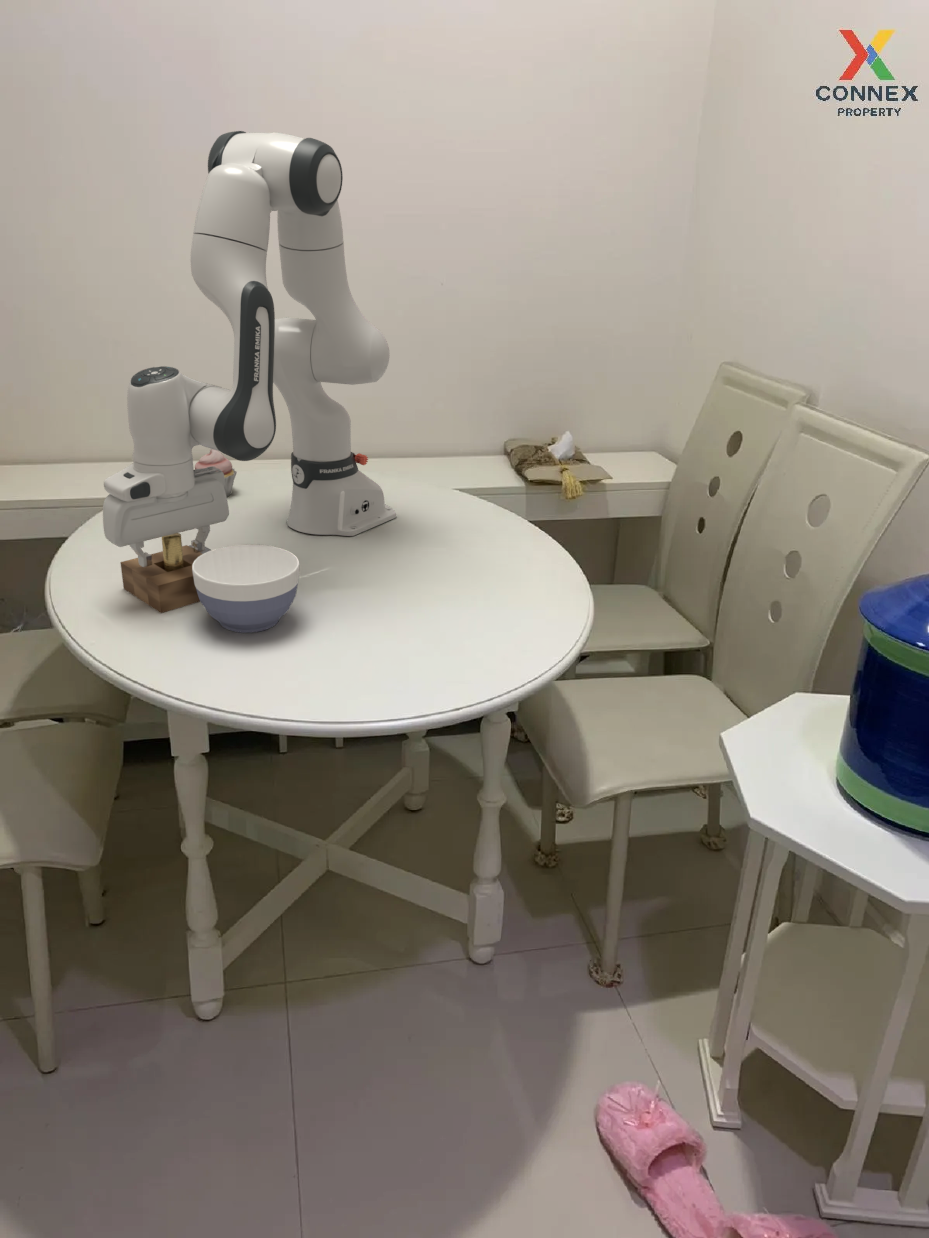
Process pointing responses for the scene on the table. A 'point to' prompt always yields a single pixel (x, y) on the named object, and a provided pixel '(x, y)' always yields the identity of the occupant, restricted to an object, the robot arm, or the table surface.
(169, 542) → the brass peg
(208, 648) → the table surface
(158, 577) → the hole block
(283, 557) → the bowl
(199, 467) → the cupcake
